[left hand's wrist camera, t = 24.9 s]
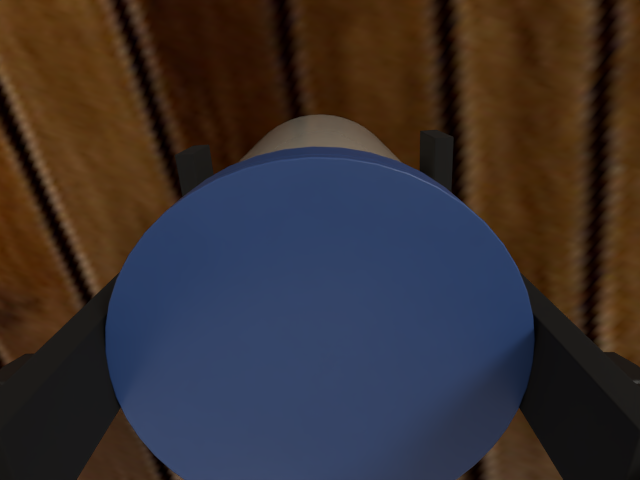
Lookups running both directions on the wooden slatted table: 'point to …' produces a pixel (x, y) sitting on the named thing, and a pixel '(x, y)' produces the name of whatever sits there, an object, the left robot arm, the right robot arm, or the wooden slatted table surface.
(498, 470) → the wooden slatted table surface
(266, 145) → the jar
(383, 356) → the lid
